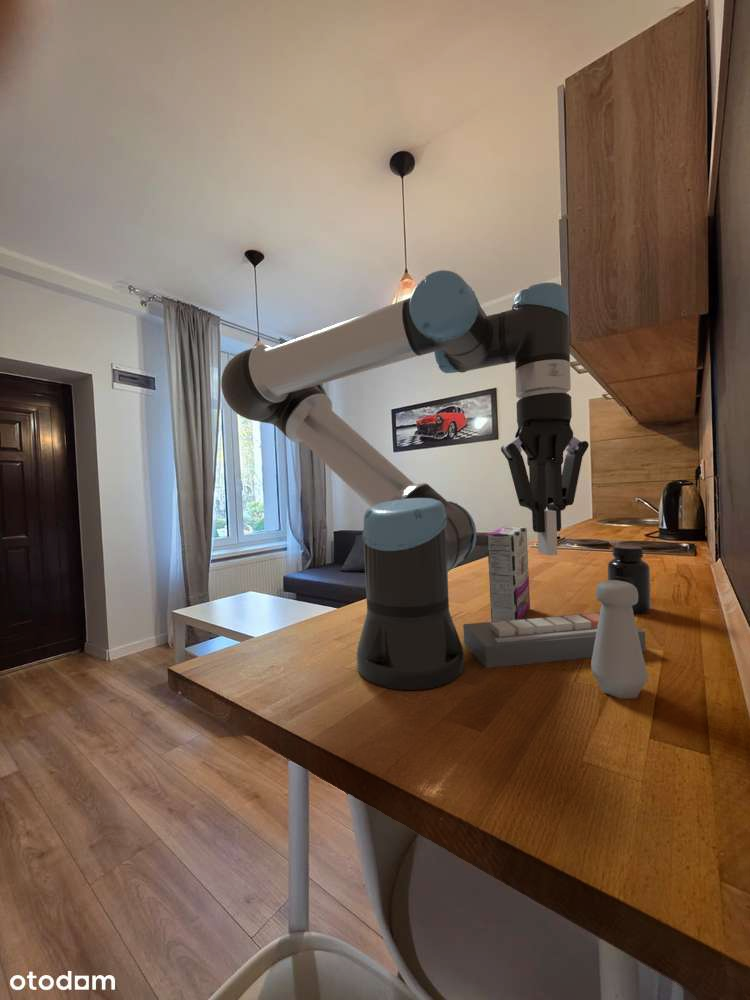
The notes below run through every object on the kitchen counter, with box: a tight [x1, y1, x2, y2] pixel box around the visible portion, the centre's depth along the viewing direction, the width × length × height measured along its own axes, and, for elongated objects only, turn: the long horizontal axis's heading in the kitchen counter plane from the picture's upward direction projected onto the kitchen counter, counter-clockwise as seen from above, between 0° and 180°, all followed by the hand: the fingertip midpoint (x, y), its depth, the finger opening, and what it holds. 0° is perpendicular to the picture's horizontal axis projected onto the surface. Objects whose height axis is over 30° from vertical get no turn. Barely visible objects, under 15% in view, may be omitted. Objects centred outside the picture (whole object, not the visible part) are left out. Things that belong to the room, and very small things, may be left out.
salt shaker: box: [590, 579, 649, 700], centre depth 47 cm, size 6×6×13 cm
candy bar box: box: [486, 526, 531, 622], centre depth 74 cm, size 11×5×16 cm, turn 147°
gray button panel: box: [462, 611, 646, 669], centre depth 60 cm, size 24×9×4 cm, turn 97°
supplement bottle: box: [607, 544, 652, 615], centre depth 75 cm, size 7×7×12 cm
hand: (547, 553), depth 59 cm, fingers closed
